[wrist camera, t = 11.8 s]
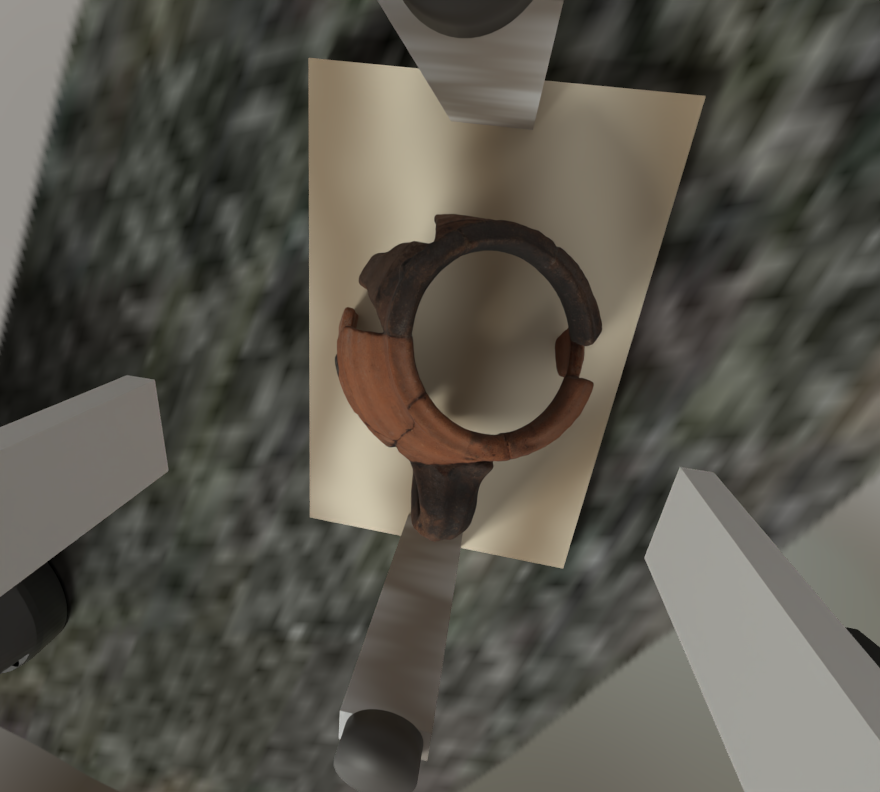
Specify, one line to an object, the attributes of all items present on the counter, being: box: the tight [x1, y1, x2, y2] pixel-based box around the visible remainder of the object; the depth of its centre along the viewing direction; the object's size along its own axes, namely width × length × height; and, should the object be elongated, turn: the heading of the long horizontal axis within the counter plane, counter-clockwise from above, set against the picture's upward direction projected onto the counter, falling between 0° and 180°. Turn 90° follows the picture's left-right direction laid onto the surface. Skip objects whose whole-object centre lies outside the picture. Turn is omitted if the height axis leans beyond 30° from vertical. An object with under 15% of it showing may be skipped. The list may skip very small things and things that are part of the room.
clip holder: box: [309, 0, 706, 792], centre depth 15 cm, size 14×22×12 cm, turn 174°
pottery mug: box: [335, 214, 602, 542], centre depth 17 cm, size 12×10×8 cm
